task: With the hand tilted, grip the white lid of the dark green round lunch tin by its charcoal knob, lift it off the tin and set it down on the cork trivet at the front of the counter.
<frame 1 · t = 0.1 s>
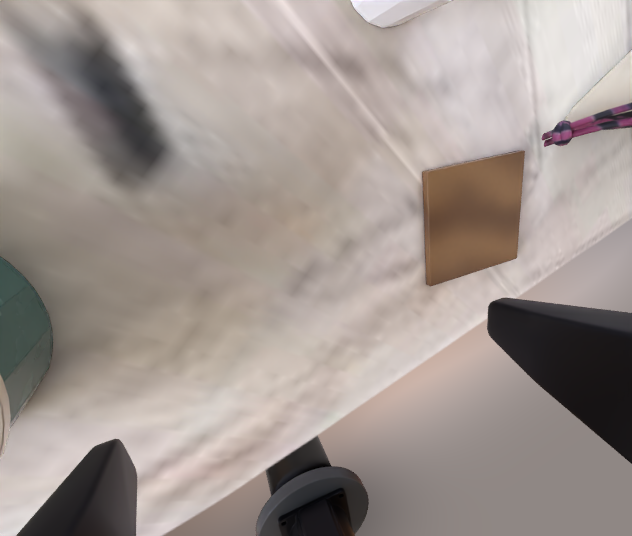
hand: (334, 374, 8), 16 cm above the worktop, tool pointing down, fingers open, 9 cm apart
trivet: (471, 218, 28), on the worktop
pouch: (626, 62, 29), on the worktop
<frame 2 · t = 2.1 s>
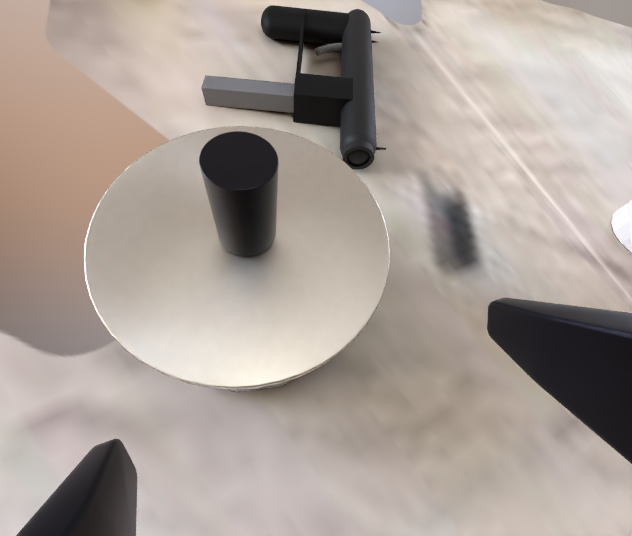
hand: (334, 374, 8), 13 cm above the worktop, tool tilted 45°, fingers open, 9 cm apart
door handle: (297, 89, 32), on the worktop
tin lid: (248, 238, 17), point 6 cm above the worktop, touching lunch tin
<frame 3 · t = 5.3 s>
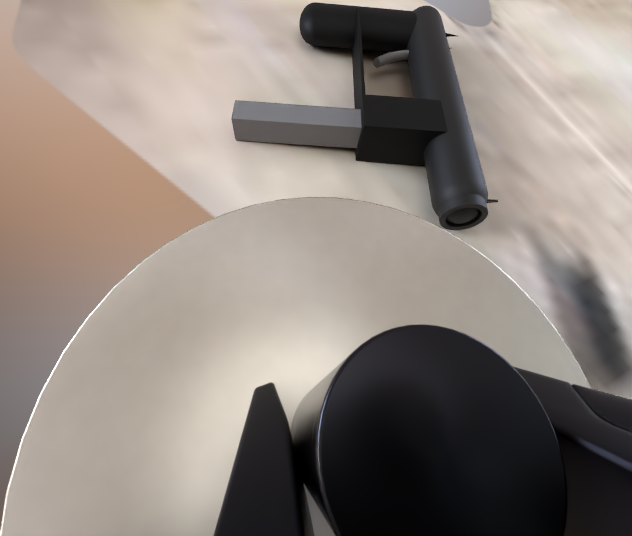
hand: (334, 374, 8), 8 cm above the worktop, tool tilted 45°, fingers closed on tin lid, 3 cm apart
door handle: (354, 114, 24), on the worktop
tin lid: (342, 436, 9), point 6 cm above the worktop, touching gripper, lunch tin
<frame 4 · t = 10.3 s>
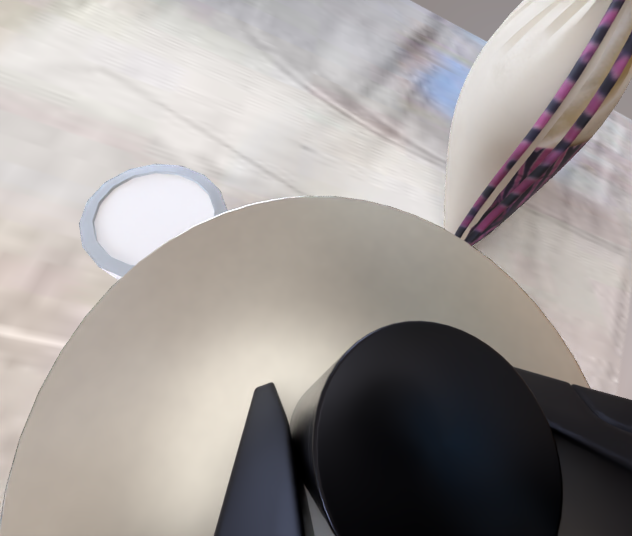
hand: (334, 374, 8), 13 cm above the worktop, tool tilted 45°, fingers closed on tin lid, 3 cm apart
pouch: (462, 179, 30), on the worktop
white cup: (188, 275, 23), on the worktop
tin lid: (340, 434, 9), point 12 cm above the worktop, touching gripper
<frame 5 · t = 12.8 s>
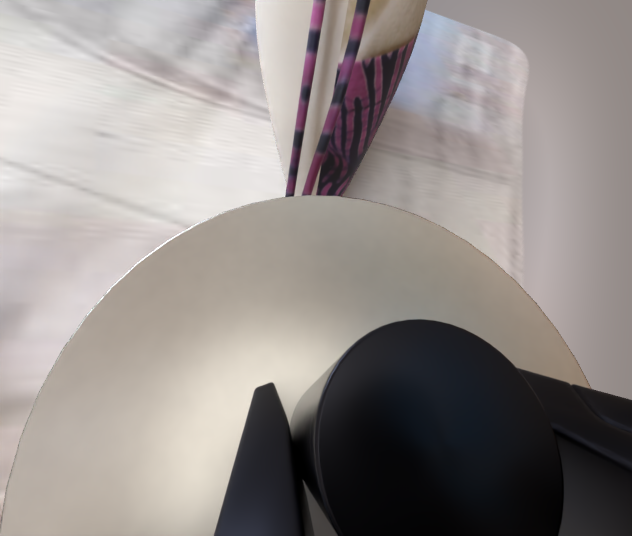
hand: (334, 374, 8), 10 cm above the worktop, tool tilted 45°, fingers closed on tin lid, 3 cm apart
pouch: (317, 135, 25), on the worktop
tin lid: (341, 433, 9), point 8 cm above the worktop, touching gripper
when the fingers open (3 cm above the worktop, at t = 15.1 s): tin lid stays where it is, resting on trivet.
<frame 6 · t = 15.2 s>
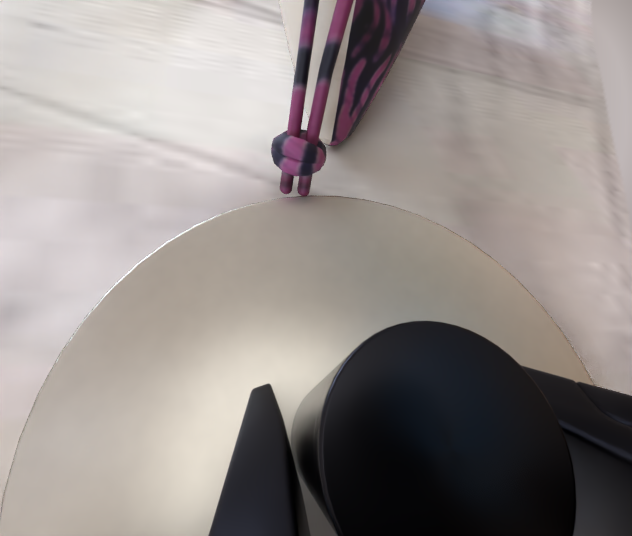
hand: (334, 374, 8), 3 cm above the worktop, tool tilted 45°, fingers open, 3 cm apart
pouch: (333, 42, 18), on the worktop
tin lid: (343, 436, 8), point 1 cm above the worktop, touching trivet
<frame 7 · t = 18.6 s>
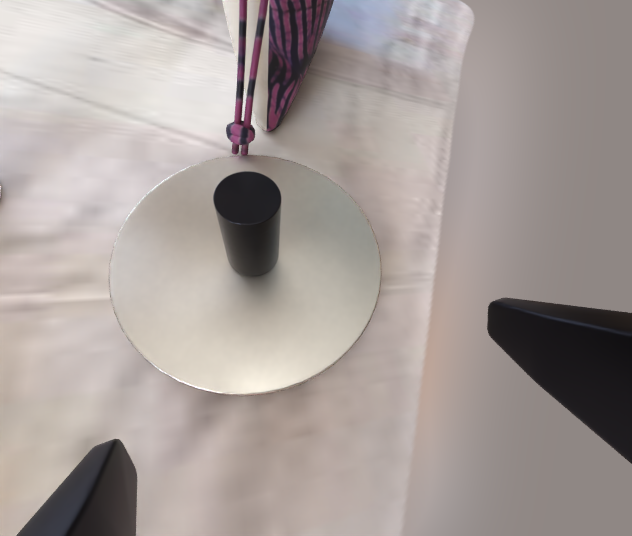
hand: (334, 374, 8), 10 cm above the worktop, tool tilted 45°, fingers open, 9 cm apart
pouch: (278, 66, 29), on the worktop
tin lid: (253, 258, 19), point 1 cm above the worktop, touching trivet
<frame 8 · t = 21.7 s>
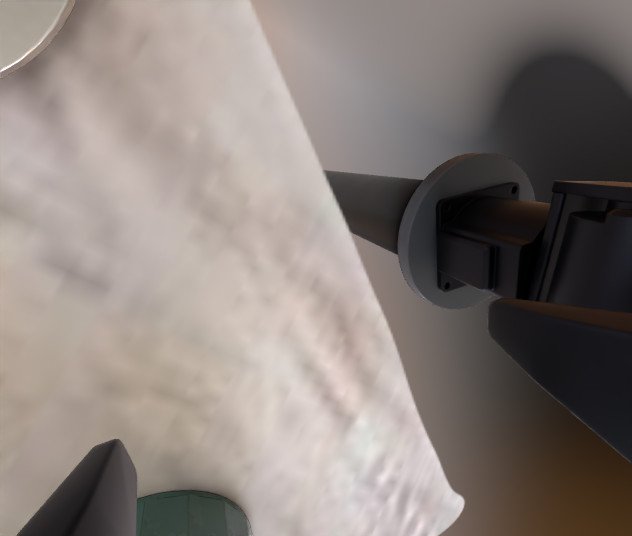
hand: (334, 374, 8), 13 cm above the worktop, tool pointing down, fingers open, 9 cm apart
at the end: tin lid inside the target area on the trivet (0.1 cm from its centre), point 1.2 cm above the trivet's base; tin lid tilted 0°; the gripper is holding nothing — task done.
